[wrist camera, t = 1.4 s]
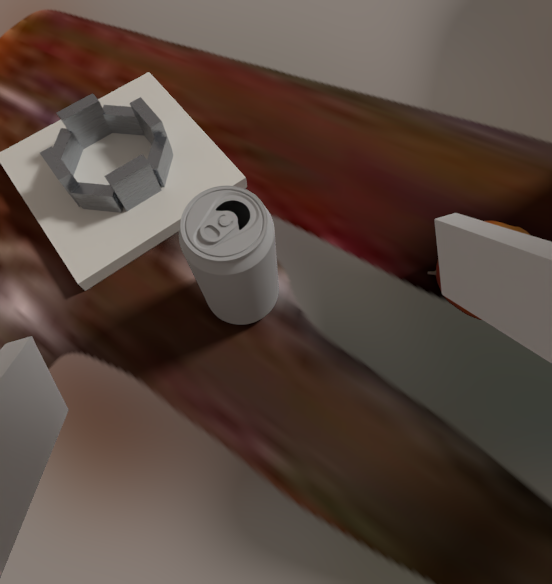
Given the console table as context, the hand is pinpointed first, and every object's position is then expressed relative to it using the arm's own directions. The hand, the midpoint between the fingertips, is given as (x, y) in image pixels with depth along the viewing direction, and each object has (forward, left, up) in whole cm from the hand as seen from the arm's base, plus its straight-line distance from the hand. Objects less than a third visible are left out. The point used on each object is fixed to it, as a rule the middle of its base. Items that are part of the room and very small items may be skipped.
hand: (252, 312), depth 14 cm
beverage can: (-4, -10, -23) cm, 25 cm away
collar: (-2, -28, -21) cm, 35 cm away
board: (-2, -28, -23) cm, 36 cm away
